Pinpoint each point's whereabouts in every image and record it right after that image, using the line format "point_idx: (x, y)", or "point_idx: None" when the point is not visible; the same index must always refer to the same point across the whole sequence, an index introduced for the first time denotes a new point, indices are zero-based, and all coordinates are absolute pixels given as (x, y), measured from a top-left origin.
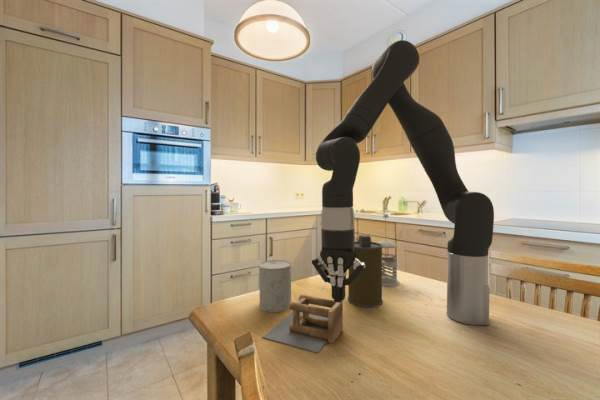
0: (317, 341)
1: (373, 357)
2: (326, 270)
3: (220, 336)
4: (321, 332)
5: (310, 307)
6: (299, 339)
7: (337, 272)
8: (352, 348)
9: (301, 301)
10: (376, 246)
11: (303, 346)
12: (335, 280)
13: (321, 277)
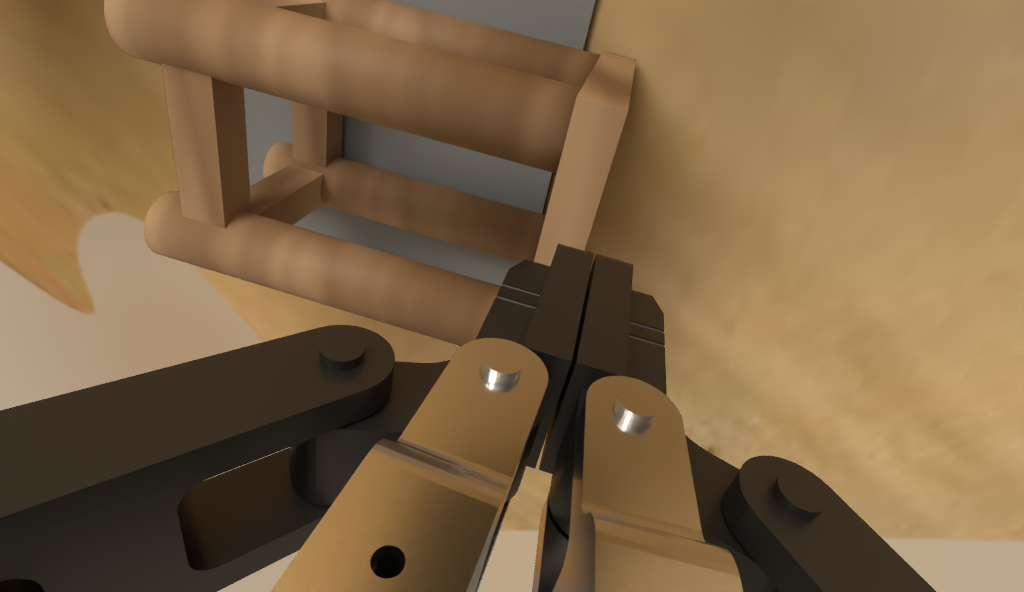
0: (483, 255)
1: (811, 349)
2: (209, 473)
3: (30, 264)
4: (490, 252)
5: (342, 308)
6: (380, 250)
7: (484, 556)
8: (696, 283)
9: (208, 169)
10: None
11: None
12: (496, 537)
13: (248, 482)
